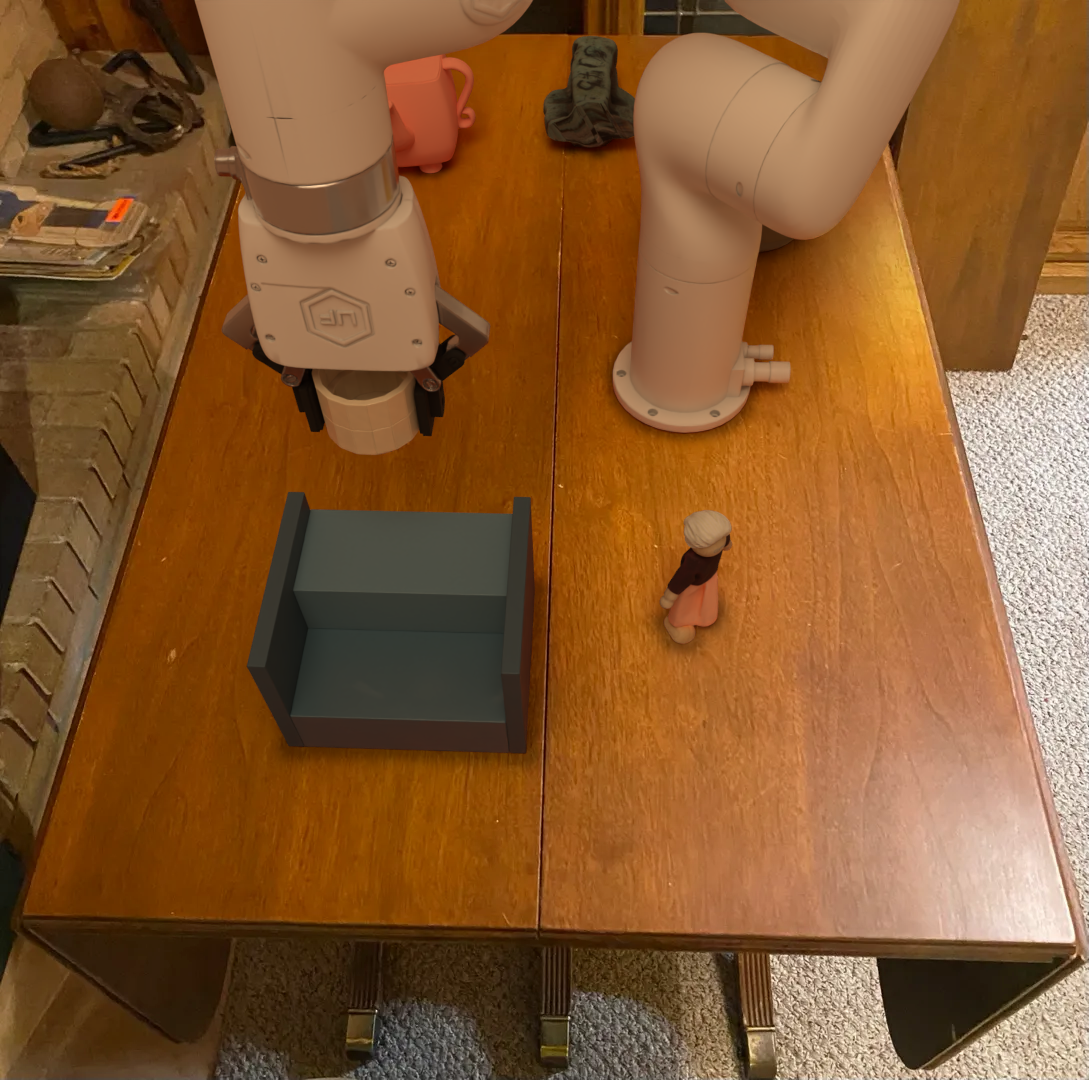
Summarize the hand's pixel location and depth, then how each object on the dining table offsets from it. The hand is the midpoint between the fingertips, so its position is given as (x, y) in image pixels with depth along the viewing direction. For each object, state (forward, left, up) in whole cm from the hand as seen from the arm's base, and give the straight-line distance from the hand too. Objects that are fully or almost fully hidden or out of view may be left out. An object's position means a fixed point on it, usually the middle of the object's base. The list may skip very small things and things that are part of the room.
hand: (374, 416), depth 66 cm
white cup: (0, 0, -1) cm, 1 cm away
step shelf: (-1, +7, -20) cm, 21 cm away
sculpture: (-13, -65, -20) cm, 69 cm away
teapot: (+8, -59, -20) cm, 63 cm away
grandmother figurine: (-22, +2, -20) cm, 30 cm away
